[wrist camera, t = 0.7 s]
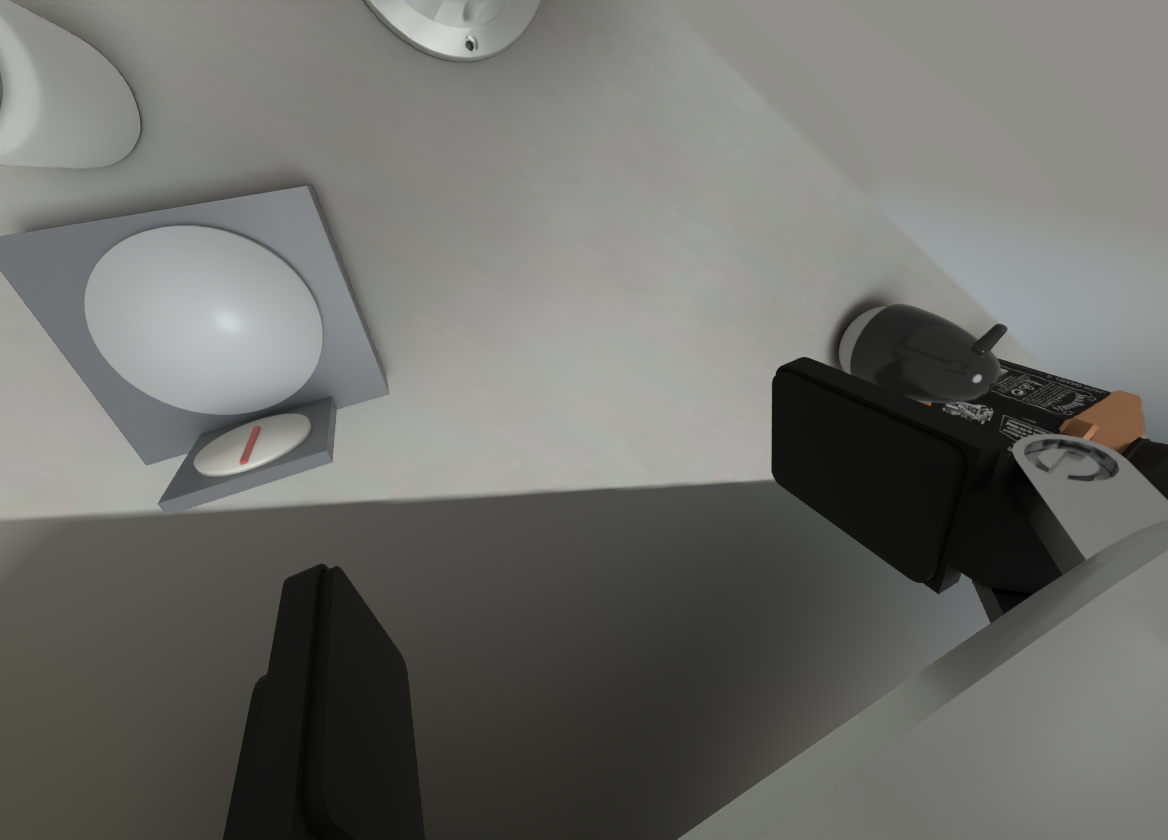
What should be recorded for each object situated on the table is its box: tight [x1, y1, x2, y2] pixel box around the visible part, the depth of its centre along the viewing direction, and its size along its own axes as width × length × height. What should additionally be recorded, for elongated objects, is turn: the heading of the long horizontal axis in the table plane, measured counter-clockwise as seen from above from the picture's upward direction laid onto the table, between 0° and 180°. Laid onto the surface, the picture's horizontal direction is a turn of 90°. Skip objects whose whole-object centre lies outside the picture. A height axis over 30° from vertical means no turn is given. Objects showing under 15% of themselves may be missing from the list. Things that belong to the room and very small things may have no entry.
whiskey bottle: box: [921, 358, 1168, 470], centre depth 54 cm, size 10×10×32 cm
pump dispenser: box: [839, 304, 1007, 403], centre depth 51 cm, size 10×10×15 cm
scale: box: [0, 185, 389, 515], centre depth 27 cm, size 14×15×12 cm
